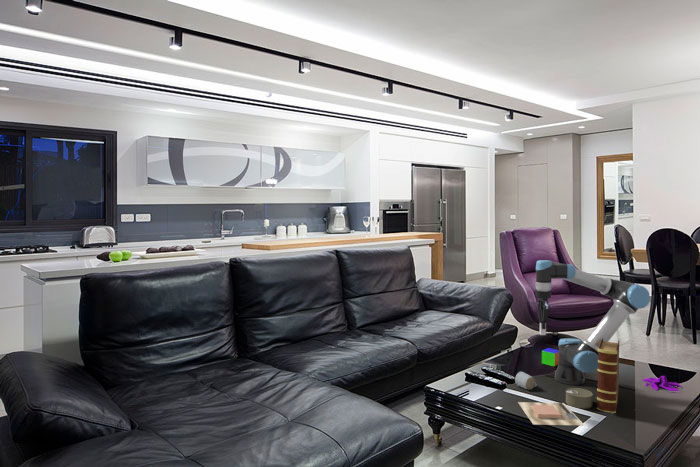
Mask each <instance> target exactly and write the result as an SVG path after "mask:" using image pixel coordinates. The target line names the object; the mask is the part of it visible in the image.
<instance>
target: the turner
mask: <svg viewBox="0 0 700 467" xmlns="http://www.w3.org/2000/svg"><path fill="white" fill-rule="evenodd" d="M558 403H559V405H560V406H561V407H562V409H563V410H564V411H565V412H566V413H564V414H565V415H566V416H567V417H568V418H569V419H577V417H578V416H577V417H576V416H575V415H576V414H575V413H574V412H573V413H574V414H575V415H574V414H573V413H570V412H569V411H568V410H567V408H566V407H565V406H564V405H563V404H562V403H563V402H558Z"/></svg>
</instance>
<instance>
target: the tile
mask: <svg viewBox="0 0 700 467" xmlns="http://www.w3.org/2000/svg"><path fill="white" fill-rule="evenodd" d="M531 409H532V410H533V411H534V413H535V414H536V415H537V417H538V418H558V419H560V418H561V414H560V413H559V412H558V411H557V409H556V408H555V407H554V406H553V405H531Z"/></svg>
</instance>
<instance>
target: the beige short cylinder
mask: <svg viewBox="0 0 700 467" xmlns="http://www.w3.org/2000/svg"><path fill="white" fill-rule="evenodd" d="M564 392H565V403H566V404H567V406H571V407H572V408H577V409H590V408H593V396H594V393H593V392H592V391H590V390H588V389H586V388H580V387H567V388H566V389H565V391H564Z"/></svg>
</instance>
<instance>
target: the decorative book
mask: <svg viewBox="0 0 700 467" xmlns="http://www.w3.org/2000/svg"><path fill="white" fill-rule="evenodd" d="M596 370H597V388H596V392H597V394H596V396H597V397H596V400H597V401H596V402H597V403H596V405H597V406H596V409H597V410H599V411H603V412H604V413H605V412H606V413H611V414H612V413H616V414H617V408H618V407H617V406H618V400H619V380H620V378H619V376H620V373H619V371H620V340H619V339H618V341H617V342H614V341H613V342H611V341H608V342H605V341H603V339H602V340H601V343H600V346H599V348H598V368H597V369H596Z"/></svg>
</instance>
